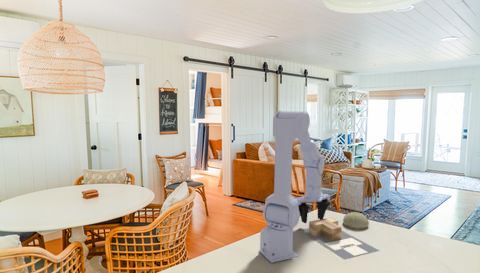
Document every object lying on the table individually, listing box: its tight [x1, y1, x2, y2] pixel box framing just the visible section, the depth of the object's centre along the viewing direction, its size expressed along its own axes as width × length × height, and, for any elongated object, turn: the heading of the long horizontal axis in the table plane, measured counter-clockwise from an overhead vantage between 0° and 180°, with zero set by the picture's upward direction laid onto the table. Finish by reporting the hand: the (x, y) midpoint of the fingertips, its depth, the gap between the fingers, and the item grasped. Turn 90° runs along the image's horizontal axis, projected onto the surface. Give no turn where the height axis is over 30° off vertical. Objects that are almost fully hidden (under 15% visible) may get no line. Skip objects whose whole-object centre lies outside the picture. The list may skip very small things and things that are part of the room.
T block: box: [308, 217, 343, 241], centre depth 104 cm, size 10×8×4 cm
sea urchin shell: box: [342, 211, 370, 230], centre depth 114 cm, size 9×8×8 cm
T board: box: [299, 227, 380, 260], centre depth 101 cm, size 14×23×1 cm, turn 24°
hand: (312, 220), depth 112 cm, fingers open, 7 cm apart
